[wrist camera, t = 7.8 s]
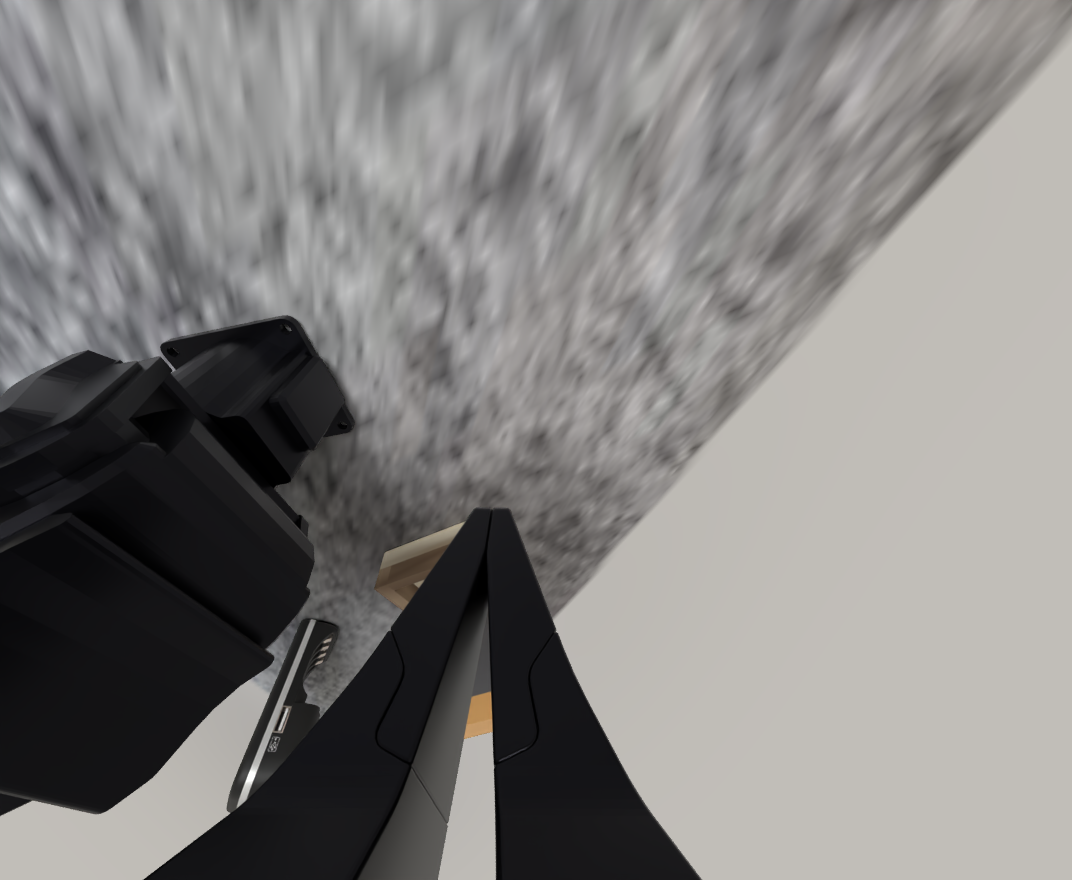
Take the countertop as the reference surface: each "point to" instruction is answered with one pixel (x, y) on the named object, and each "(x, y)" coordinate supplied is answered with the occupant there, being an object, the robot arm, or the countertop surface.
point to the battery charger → (284, 711)
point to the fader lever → (481, 693)
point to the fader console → (411, 565)
